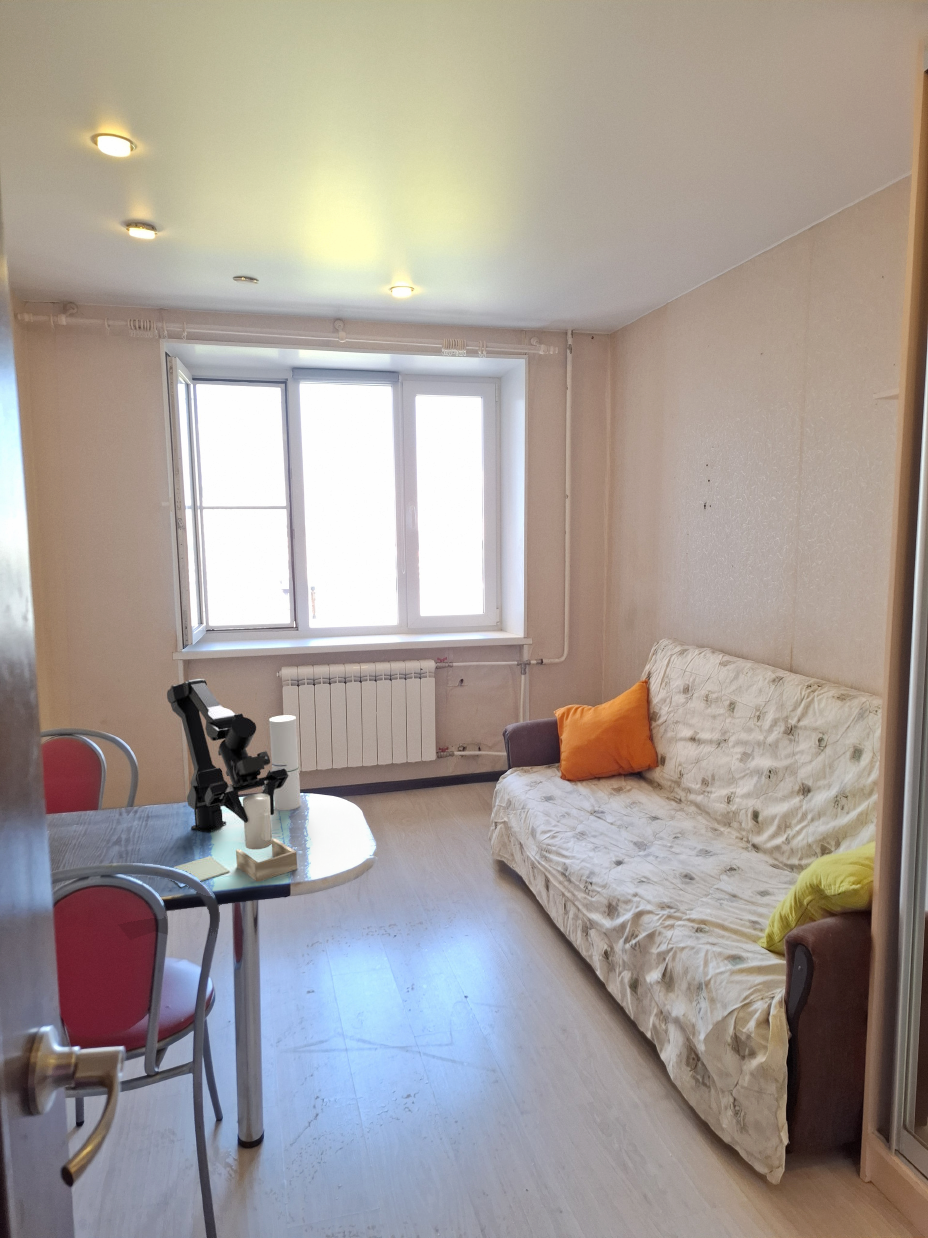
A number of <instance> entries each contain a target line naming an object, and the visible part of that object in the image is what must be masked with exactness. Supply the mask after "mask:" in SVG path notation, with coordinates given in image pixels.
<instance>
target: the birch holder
mask: <svg viewBox="0 0 928 1238" xmlns="http://www.w3.org/2000/svg"><path fill="white" fill-rule="evenodd" d="M271 853H272V854H271V855H272V856H273V857H271V858H268V859H265V860H261V861H257V860H256V859H254V858H253V857H251V856H250V855H249V854H247V853H245V852H244V851H243V850H241V849H240V848H237V849H235V856H236V867H237V868H238V869H240V870H241V871H242V872H243V873H245V874H246V875H247V876H249V877H250V878H251V879H253V880H254V881H255V882H257V883H259V882H262V881H267V880H268V879H271V878H274V877H277V876H279V875H283V874H286V873H289V872H292V871H295V870H297V869H298V860H297V859H298V857H297V851H296V850H294V849H293V848H291V847H289V846H288V845H286V844H284V843H283V842H282V841H279V840H278V839H277V838H272V844H271Z"/></svg>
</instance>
